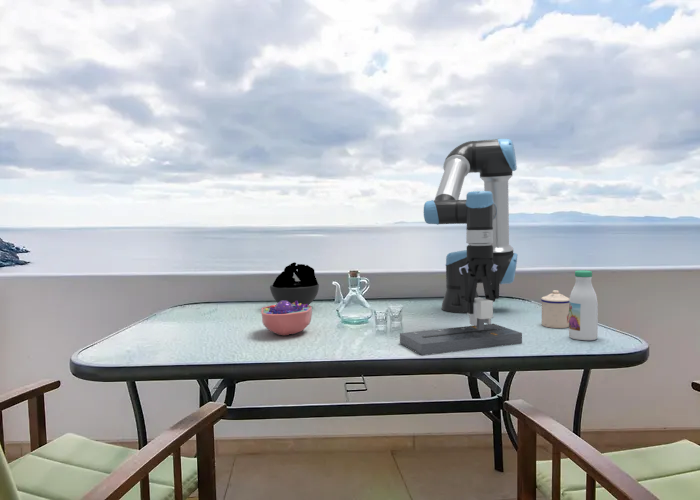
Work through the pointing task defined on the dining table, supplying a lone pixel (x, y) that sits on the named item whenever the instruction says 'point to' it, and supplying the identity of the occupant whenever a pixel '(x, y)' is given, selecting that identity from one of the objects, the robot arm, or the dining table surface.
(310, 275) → the coal bowl
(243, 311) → the dining table surface
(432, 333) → the fader console
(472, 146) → the robot arm
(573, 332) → the milk bottle
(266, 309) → the cell model
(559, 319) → the teacup with lid
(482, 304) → the fader knob
